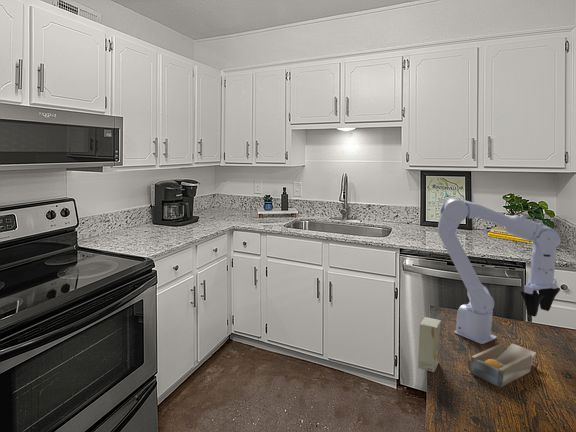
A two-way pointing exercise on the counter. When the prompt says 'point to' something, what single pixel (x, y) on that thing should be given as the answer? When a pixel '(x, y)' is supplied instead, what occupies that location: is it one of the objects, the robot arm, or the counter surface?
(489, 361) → the ball
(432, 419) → the counter surface
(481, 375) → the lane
